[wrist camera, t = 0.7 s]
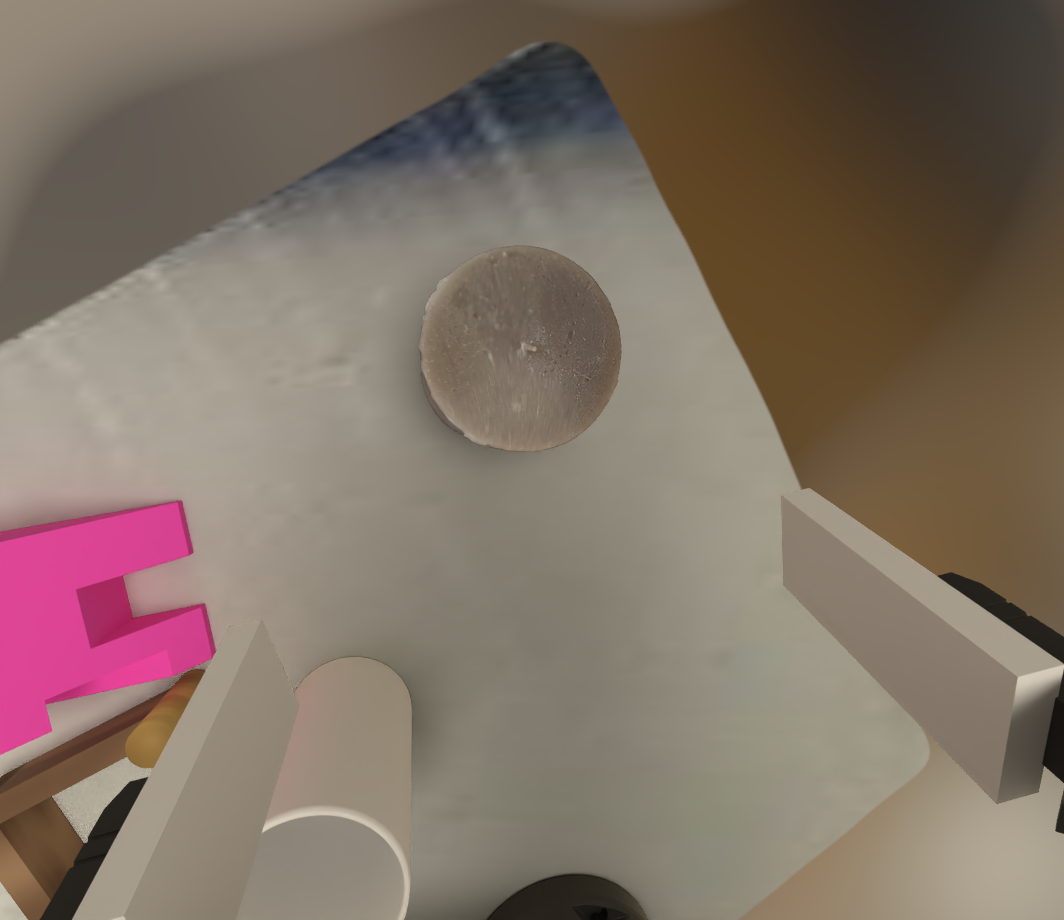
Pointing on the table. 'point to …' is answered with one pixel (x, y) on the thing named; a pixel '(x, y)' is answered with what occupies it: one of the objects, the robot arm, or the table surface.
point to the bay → (25, 793)
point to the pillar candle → (519, 349)
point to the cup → (340, 803)
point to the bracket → (88, 613)
